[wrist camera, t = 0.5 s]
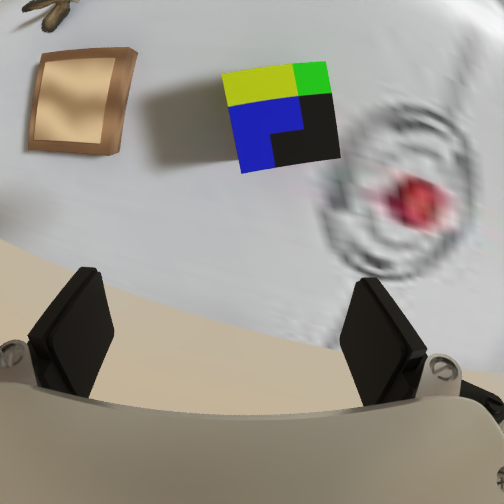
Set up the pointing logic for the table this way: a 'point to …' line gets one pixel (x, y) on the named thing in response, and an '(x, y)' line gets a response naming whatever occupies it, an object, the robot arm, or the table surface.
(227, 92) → the puzzle toy
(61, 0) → the eagle figurine
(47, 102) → the walnut tray
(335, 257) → the table surface
